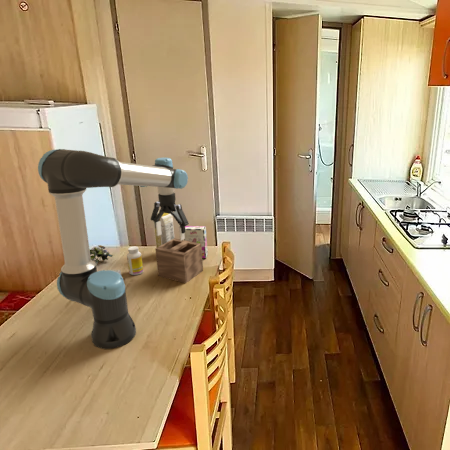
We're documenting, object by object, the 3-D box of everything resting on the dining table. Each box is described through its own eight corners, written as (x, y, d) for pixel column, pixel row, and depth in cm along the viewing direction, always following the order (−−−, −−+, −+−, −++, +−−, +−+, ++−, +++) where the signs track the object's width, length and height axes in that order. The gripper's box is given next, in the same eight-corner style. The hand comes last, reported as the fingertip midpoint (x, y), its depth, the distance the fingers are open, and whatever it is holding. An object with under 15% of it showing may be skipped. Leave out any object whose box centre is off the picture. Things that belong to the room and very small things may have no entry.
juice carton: (167, 250, 203) (163, 208, 195) (178, 253, 198) (174, 210, 190) (155, 256, 195) (150, 213, 187) (165, 259, 191) (161, 215, 183)
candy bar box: (208, 255, 194) (206, 225, 189) (206, 259, 190) (204, 229, 184) (187, 254, 196) (185, 225, 191) (185, 258, 192) (182, 228, 186)
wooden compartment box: (185, 283, 166) (183, 254, 162) (158, 275, 174) (155, 248, 169) (203, 270, 177) (201, 243, 173) (176, 264, 185) (174, 238, 181)
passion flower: (105, 269, 195) (116, 251, 193) (95, 275, 184) (107, 256, 182) (87, 257, 195) (98, 239, 193) (77, 262, 184) (88, 243, 182)
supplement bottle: (146, 271, 179) (143, 246, 175) (136, 276, 174) (133, 251, 170) (136, 268, 183) (133, 244, 178) (126, 273, 177) (122, 249, 173)
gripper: (194, 193, 162) (197, 238, 169) (150, 188, 174) (155, 230, 181) (184, 197, 156) (187, 244, 163) (139, 192, 168) (144, 235, 175)
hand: (170, 237), depth 172 cm, fingers open, 13 cm apart
